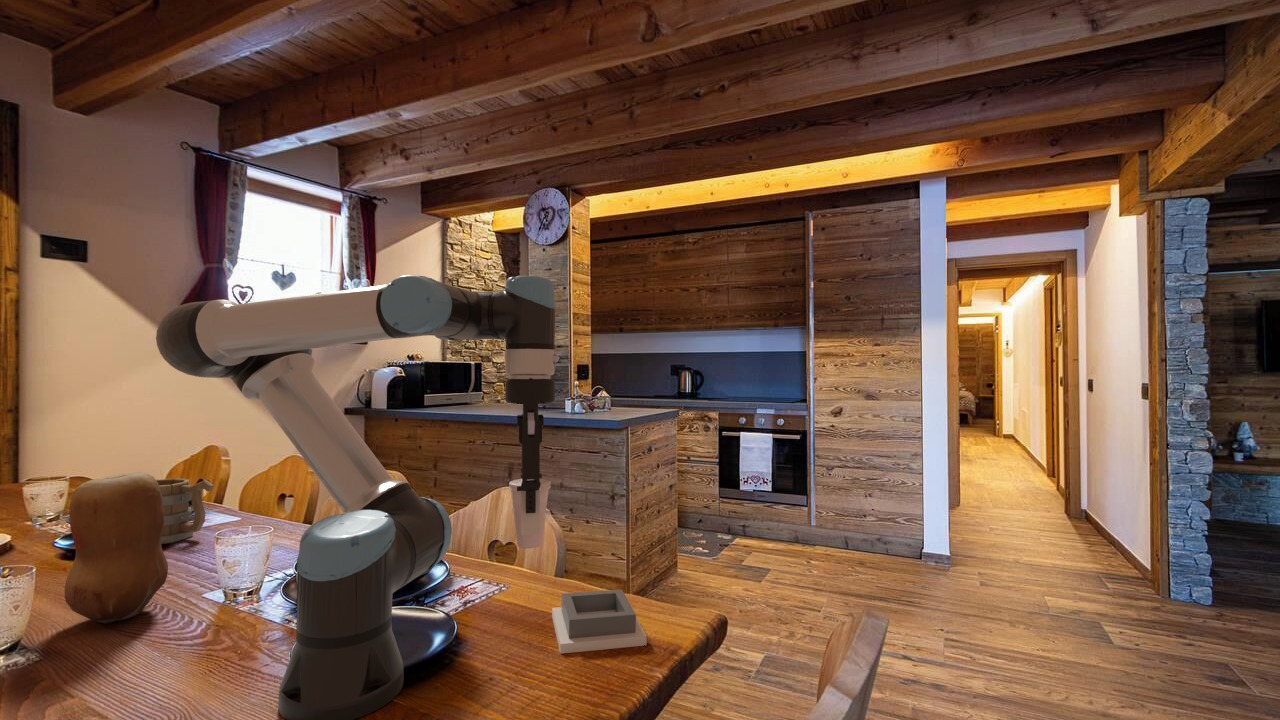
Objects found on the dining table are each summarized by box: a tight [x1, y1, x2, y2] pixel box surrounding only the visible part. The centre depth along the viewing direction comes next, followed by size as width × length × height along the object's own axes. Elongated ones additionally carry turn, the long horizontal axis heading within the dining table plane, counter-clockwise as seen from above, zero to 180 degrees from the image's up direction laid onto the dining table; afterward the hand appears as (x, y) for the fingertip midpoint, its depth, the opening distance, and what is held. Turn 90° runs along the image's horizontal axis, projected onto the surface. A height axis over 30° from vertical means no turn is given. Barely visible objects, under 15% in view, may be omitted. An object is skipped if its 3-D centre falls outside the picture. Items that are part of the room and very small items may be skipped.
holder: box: [551, 588, 648, 655], centre depth 99 cm, size 14×14×4 cm
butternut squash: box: [64, 471, 169, 625], centre depth 100 cm, size 14×13×25 cm
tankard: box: [156, 478, 215, 545], centre depth 145 cm, size 20×13×15 cm, turn 80°
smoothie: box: [508, 477, 552, 550], centre depth 89 cm, size 6×6×14 cm
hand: (529, 527), depth 89 cm, fingers closed on smoothie, 6 cm apart
